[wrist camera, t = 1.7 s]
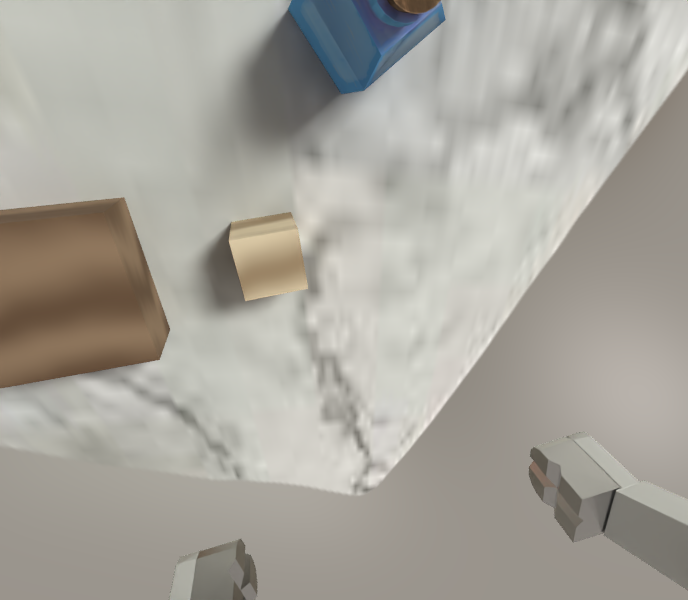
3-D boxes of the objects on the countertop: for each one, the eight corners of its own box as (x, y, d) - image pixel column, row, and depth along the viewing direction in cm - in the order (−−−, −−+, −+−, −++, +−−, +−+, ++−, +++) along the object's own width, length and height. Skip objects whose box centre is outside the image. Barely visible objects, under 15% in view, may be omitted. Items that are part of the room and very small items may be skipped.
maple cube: (231, 221, 30) (228, 240, 26) (290, 211, 31) (297, 228, 27) (245, 275, 32) (245, 301, 28) (300, 265, 33) (308, 288, 29)
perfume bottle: (288, 9, 24) (317, -63, 14) (359, -58, 24) (446, -185, 13) (341, 93, 28) (397, 85, 17) (406, 37, 27) (505, -7, 16)
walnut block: (-57, 215, 26) (-119, 236, 21) (125, 196, 28) (103, 212, 23) (24, 351, 31) (-11, 390, 27) (170, 327, 33) (159, 359, 29)
